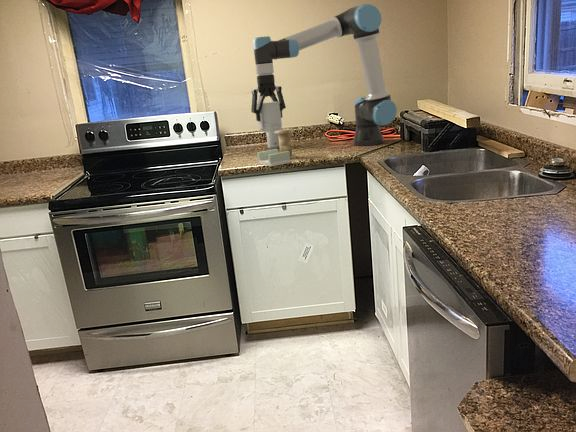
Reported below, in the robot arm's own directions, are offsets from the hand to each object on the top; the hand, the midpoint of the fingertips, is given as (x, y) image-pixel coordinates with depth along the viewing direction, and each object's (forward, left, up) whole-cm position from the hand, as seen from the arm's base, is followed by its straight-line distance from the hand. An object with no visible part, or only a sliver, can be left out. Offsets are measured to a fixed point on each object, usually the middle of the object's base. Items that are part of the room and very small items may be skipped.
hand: (270, 126), depth 230 cm
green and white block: (0, 0, -16) cm, 16 cm away
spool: (-10, -6, -16) cm, 20 cm away
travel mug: (-20, -36, -16) cm, 44 cm away
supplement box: (0, 0, -2) cm, 2 cm away
